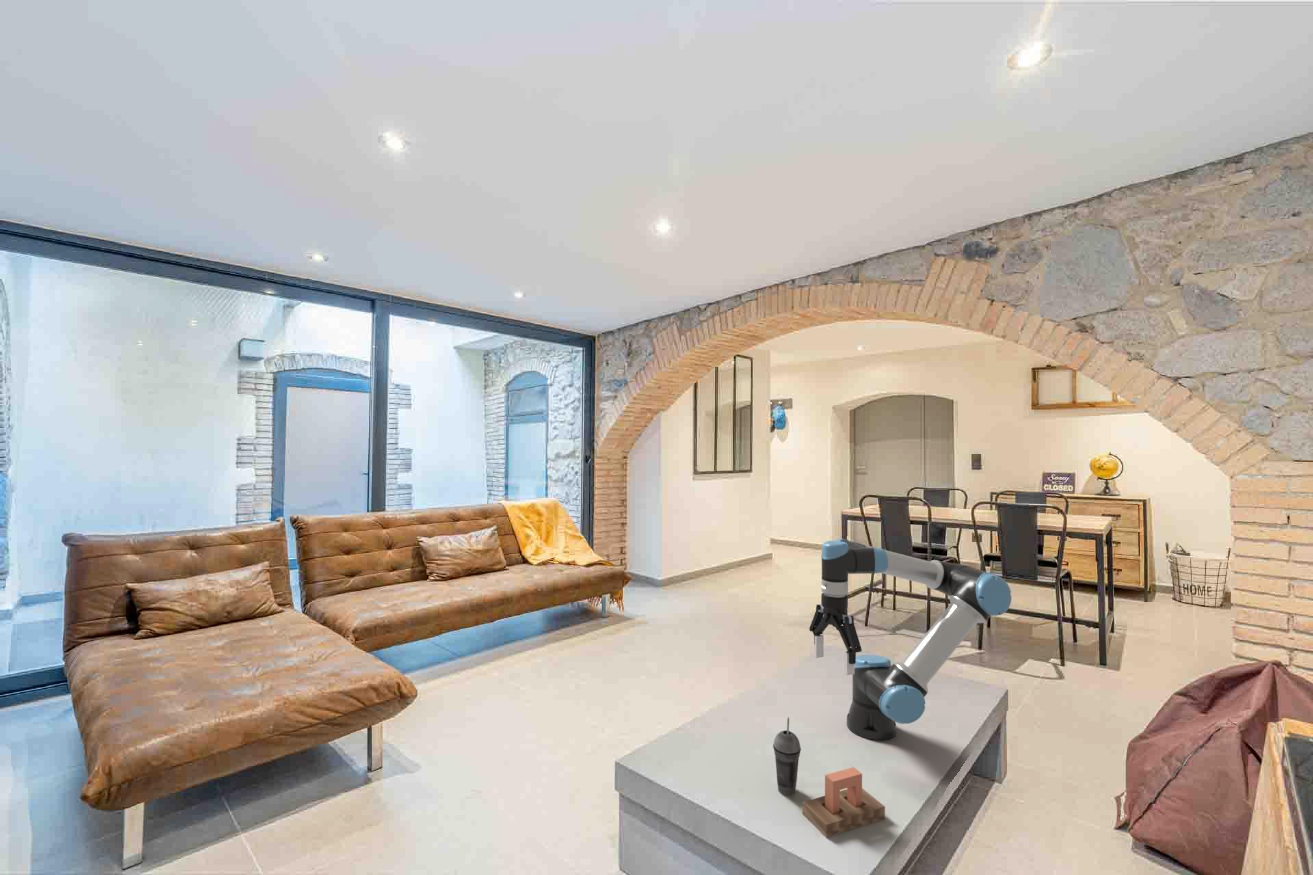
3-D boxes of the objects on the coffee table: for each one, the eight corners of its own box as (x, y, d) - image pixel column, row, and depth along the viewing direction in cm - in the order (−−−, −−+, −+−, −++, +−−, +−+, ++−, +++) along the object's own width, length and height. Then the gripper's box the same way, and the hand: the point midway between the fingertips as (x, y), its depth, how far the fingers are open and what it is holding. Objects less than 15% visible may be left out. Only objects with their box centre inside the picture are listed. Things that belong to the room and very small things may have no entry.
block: (853, 808, 144) (853, 766, 144) (861, 815, 142) (862, 773, 142) (824, 816, 141) (825, 774, 141) (832, 824, 138) (833, 781, 138)
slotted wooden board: (859, 797, 149) (859, 785, 149) (884, 818, 140) (884, 806, 140) (802, 813, 142) (802, 801, 142) (826, 837, 134) (826, 824, 134)
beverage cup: (796, 781, 155) (796, 708, 155) (804, 798, 148) (804, 722, 148) (769, 782, 155) (770, 709, 155) (776, 799, 148) (777, 722, 148)
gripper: (798, 584, 179) (797, 652, 179) (854, 606, 156) (853, 684, 156) (817, 582, 182) (817, 648, 182) (875, 604, 158) (874, 679, 158)
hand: (833, 665), depth 169 cm, fingers open, 13 cm apart
